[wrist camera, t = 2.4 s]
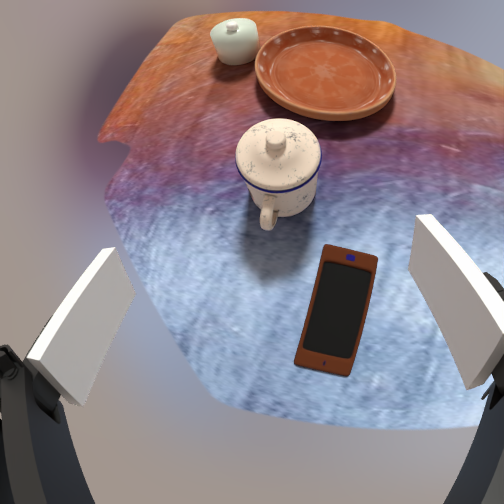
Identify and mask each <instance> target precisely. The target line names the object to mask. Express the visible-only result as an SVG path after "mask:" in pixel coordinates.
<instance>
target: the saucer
mask: <svg viewBox="0 0 504 504" xmlns="http://www.w3.org/2000/svg"><path fill="white" fill-rule="evenodd" d="M255 71H256V75H257V78H258V81H259V84H260V86H261V87H262V89H263V90H264V92H265V93H266V94H267V95H268V96H269V97H270V98H271V99H272V100H273V101H275V102H276V103H278V104H279V105H281V106H282V107H284V108H286V109H288V110H290V111H292V112H295V113H297V114H300V115H303V116H306V117H310V118H314V119H320V120H328V121H347V120H355V119H360V118H363V117H367V116H369V115H372V114H374V113H376V112H377V111H379V110H380V109H382V108H383V107H384V106H385V105H386V104H387V103H388V102H389V100H390V99H391V97H392V94H393V92H394V90H395V86H396V72H395V69H394V66H393V64H392V62H391V61H390V59H389V58H388V56H387V55H386V54H385V53H384V52H383V51H382V50H381V49H380V48H379V47H378V46H376V45H375V44H374V43H372V42H371V41H369V40H368V39H366V38H364V37H362V36H360V35H358V34H355V33H353V32H350V31H347V30H344V29H340V28H334V27H328V26H305V27H299V28H294V29H290V30H287V31H284V32H282V33H280V34H278V35H276V36H274V37H272V38H271V39H270V40H268V41H267V42H266V43H265V44H264V45H263V46H262V47H261V49H260V50H259V52H258V54H257V56H256V60H255Z"/></svg>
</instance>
